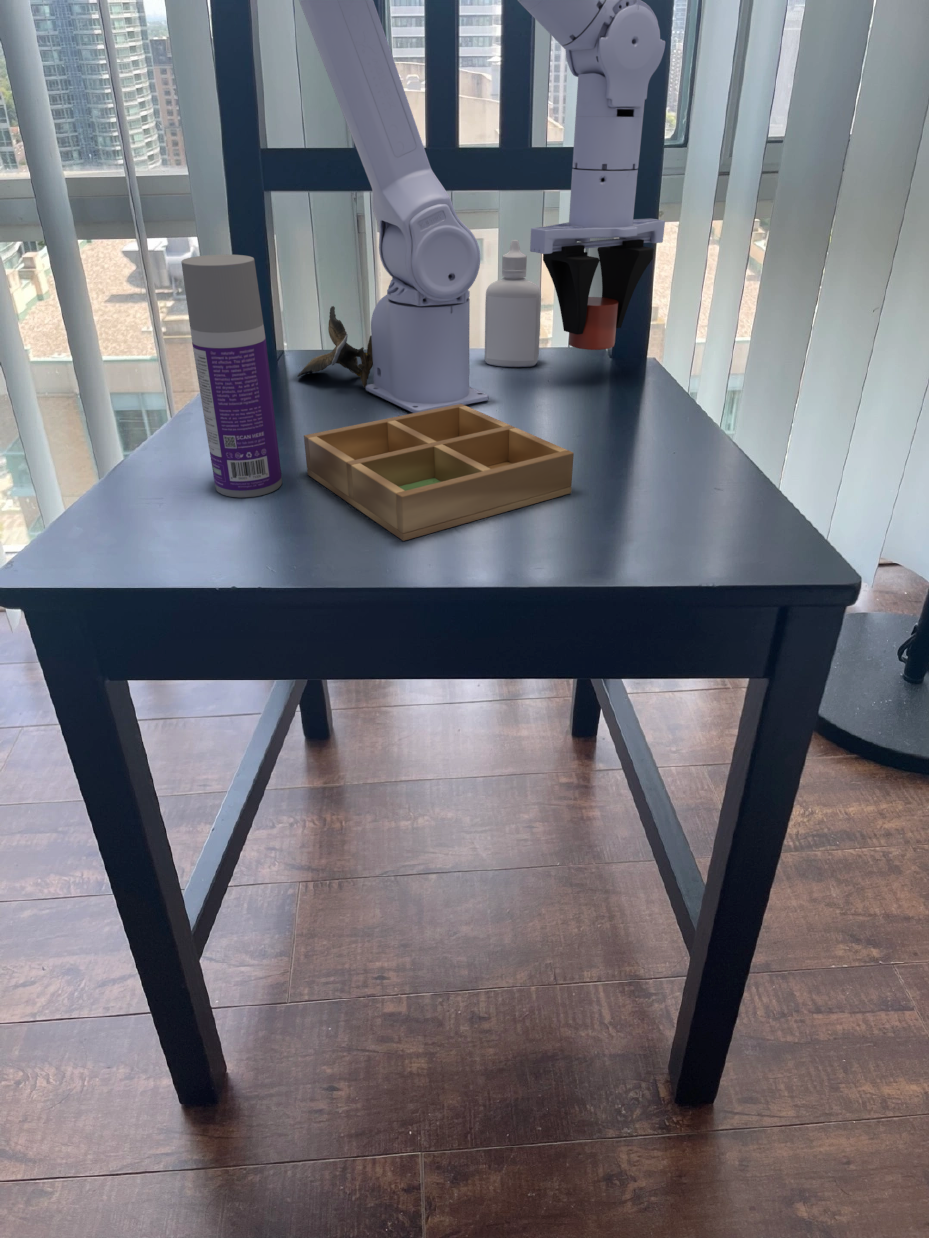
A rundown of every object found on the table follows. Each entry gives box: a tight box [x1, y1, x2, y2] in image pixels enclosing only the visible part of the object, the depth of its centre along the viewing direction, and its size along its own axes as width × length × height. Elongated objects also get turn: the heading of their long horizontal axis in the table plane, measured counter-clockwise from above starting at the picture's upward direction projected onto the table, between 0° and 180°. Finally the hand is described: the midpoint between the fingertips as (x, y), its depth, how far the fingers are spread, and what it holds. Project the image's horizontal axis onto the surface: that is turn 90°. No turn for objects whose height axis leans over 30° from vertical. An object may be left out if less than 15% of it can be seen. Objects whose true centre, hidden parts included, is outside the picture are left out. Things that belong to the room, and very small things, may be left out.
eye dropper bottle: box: [484, 239, 542, 368], centre depth 87 cm, size 4×6×12 cm
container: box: [180, 254, 283, 498], centre depth 57 cm, size 5×5×15 cm
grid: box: [303, 404, 575, 542], centre depth 60 cm, size 14×14×3 cm
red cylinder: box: [568, 296, 618, 351], centre depth 81 cm, size 4×4×4 cm
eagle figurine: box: [296, 305, 373, 389], centre depth 83 cm, size 8×7×9 cm
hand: (592, 329), depth 82 cm, fingers closed on red cylinder, 4 cm apart
